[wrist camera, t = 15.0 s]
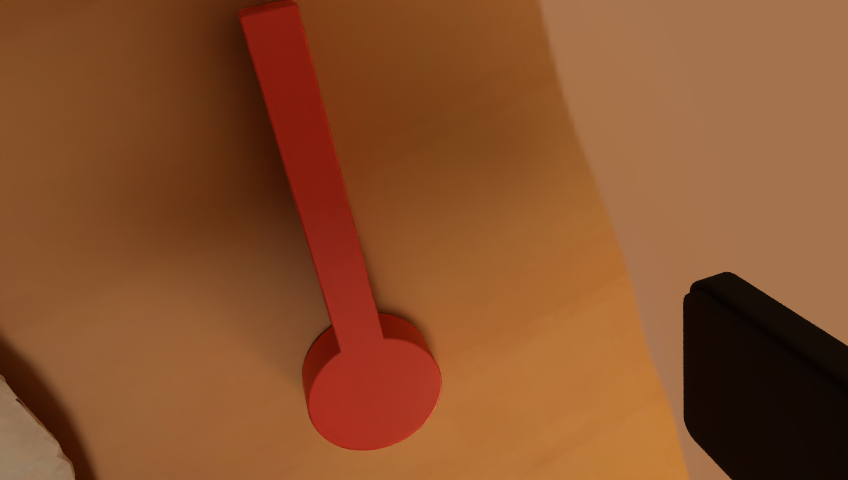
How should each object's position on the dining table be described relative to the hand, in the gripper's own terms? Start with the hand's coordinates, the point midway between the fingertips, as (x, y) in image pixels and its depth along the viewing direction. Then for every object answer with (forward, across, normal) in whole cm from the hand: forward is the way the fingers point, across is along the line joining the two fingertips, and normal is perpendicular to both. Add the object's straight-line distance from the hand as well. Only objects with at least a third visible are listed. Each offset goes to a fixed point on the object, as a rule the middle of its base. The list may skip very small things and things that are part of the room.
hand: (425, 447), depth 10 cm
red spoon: (+11, 0, +1) cm, 11 cm away
